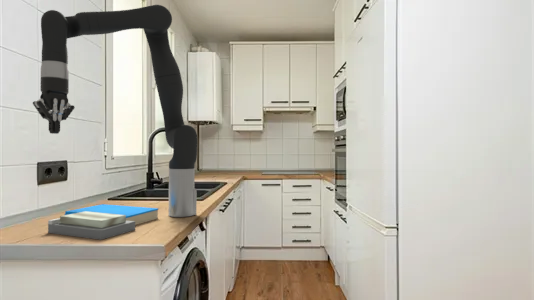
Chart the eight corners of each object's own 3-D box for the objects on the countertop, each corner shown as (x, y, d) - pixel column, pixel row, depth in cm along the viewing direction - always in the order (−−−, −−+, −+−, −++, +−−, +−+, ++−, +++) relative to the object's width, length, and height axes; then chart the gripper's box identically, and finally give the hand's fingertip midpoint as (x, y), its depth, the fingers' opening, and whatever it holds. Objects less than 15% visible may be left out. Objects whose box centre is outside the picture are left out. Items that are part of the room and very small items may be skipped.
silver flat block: (85, 217, 112) (85, 211, 112) (125, 221, 106) (125, 215, 106) (59, 223, 104) (59, 216, 104) (101, 227, 98) (101, 220, 98)
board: (85, 224, 115) (85, 212, 115) (135, 229, 108) (135, 217, 108) (48, 232, 103) (48, 220, 103) (100, 239, 96) (101, 226, 96)
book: (102, 204, 134) (158, 207, 126) (102, 215, 134) (158, 219, 126) (63, 211, 118) (125, 215, 110) (63, 224, 118) (125, 229, 110)
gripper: (43, 72, 103) (42, 132, 104) (81, 81, 116) (81, 134, 116) (25, 74, 106) (25, 132, 106) (64, 82, 118) (64, 134, 119)
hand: (54, 133), depth 111 cm, fingers closed
